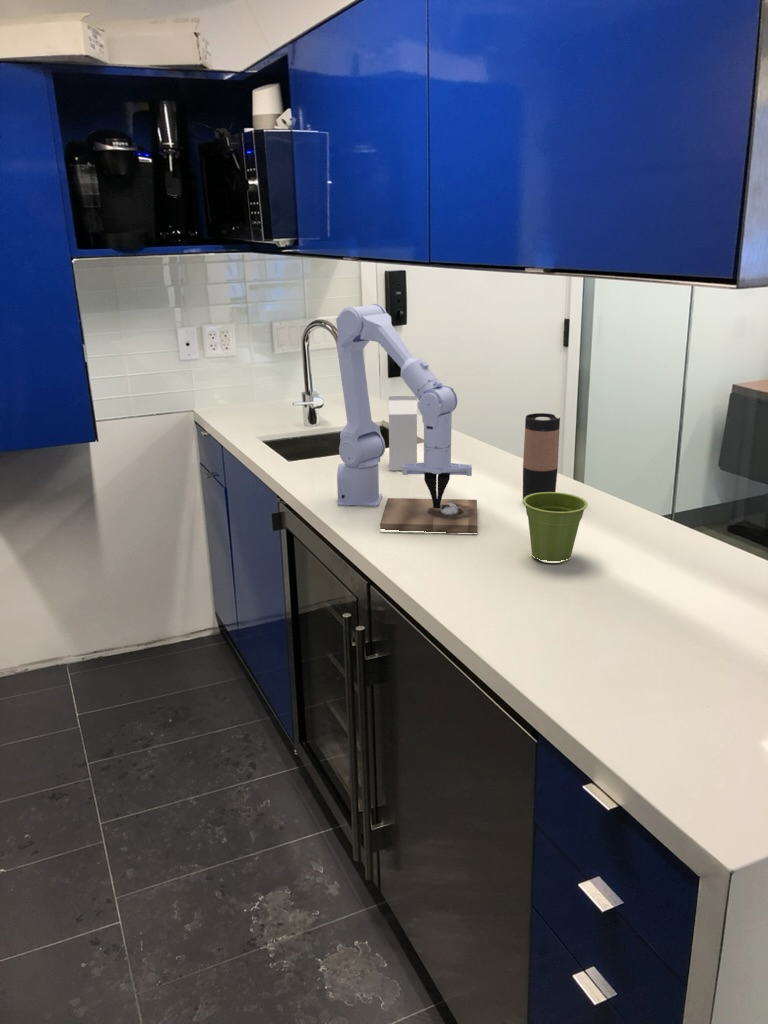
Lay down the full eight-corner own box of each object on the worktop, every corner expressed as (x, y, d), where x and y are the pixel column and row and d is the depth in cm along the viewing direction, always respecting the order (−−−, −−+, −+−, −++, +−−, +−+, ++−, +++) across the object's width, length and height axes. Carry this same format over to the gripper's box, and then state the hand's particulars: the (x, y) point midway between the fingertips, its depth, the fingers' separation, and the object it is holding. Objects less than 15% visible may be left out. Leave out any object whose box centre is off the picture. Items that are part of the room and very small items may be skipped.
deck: (380, 532, 172) (380, 523, 171) (387, 506, 188) (387, 498, 187) (477, 534, 170) (477, 525, 169) (476, 508, 186) (476, 499, 185)
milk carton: (416, 471, 215) (416, 398, 209) (389, 471, 215) (388, 398, 209) (416, 463, 222) (416, 393, 216) (389, 463, 222) (389, 393, 216)
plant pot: (533, 572, 151) (536, 513, 148) (511, 549, 162) (513, 494, 159) (594, 566, 153) (598, 508, 150) (568, 544, 164) (572, 489, 161)
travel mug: (516, 505, 187) (520, 418, 181) (527, 496, 194) (531, 411, 187) (549, 510, 184) (554, 421, 178) (559, 500, 190) (564, 414, 184)
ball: (452, 516, 174) (447, 528, 177) (464, 508, 177) (459, 520, 180) (439, 503, 176) (433, 515, 179) (451, 496, 178) (445, 508, 181)
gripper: (401, 449, 170) (401, 512, 175) (472, 450, 169) (470, 513, 173) (403, 441, 177) (404, 501, 182) (472, 442, 176) (470, 502, 180)
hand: (436, 506), depth 178 cm, fingers closed
